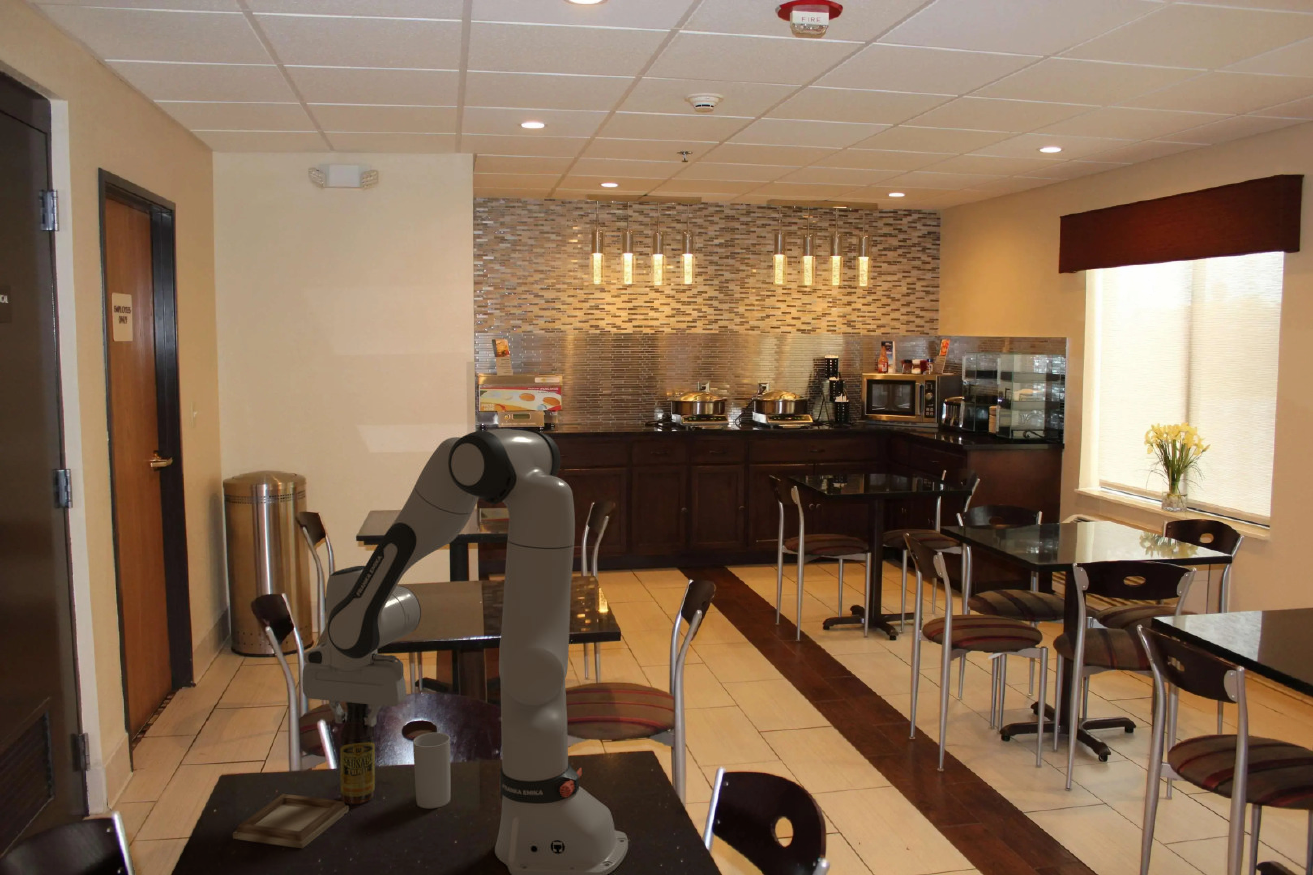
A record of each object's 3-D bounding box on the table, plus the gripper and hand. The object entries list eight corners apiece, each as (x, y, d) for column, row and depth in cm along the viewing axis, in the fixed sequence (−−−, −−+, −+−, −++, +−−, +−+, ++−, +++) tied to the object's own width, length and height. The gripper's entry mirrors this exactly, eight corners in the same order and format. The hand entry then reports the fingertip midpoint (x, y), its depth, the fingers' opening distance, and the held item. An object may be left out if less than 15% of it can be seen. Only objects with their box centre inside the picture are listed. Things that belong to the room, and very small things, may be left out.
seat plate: (348, 810, 183) (348, 800, 183) (302, 848, 170) (302, 837, 169) (283, 802, 187) (282, 792, 186) (233, 838, 173) (232, 827, 173)
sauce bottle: (341, 808, 184) (336, 704, 182) (340, 794, 190) (336, 693, 188) (377, 802, 186) (373, 700, 184) (376, 788, 192) (372, 689, 190)
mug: (446, 809, 183) (444, 746, 182) (410, 809, 183) (408, 746, 182) (459, 785, 193) (457, 725, 192) (425, 785, 193) (423, 725, 192)
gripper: (411, 650, 186) (414, 722, 187) (315, 643, 191) (319, 713, 192) (393, 661, 180) (396, 735, 181) (295, 653, 185) (299, 725, 186)
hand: (355, 723), depth 187 cm, fingers open, 5 cm apart
